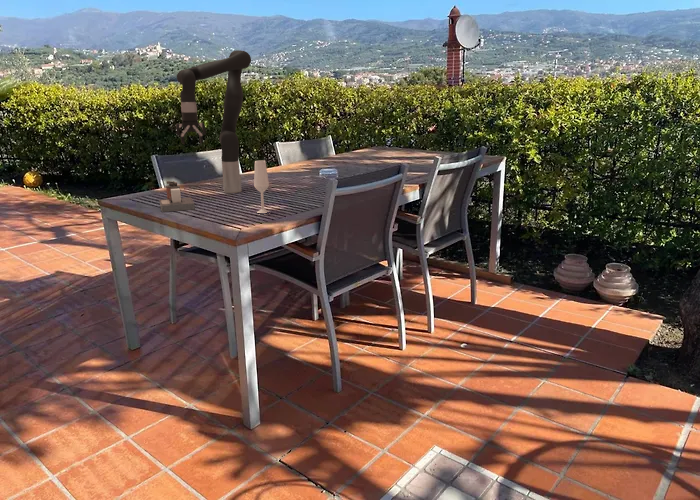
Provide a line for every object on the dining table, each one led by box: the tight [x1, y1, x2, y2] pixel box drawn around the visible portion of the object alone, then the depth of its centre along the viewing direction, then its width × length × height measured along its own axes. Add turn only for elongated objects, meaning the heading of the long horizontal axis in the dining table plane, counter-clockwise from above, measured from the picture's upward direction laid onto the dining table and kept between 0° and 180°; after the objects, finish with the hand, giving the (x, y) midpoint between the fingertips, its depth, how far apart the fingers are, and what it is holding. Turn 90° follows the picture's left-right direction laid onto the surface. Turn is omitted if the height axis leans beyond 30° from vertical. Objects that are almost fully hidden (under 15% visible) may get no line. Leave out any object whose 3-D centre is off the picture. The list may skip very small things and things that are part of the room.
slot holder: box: [159, 196, 196, 213], centre depth 247 cm, size 15×15×3 cm
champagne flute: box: [253, 159, 270, 213], centre depth 233 cm, size 7×7×24 cm
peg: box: [171, 188, 182, 203], centre depth 246 cm, size 4×4×9 cm
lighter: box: [165, 180, 181, 199], centre depth 262 cm, size 8×3×10 cm, turn 71°
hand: (192, 143), depth 262 cm, fingers open, 8 cm apart
